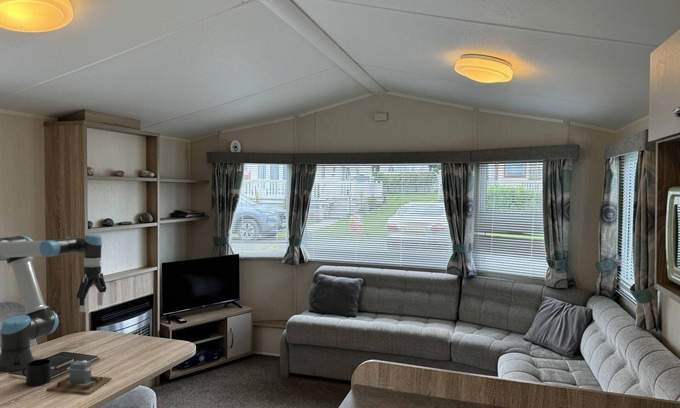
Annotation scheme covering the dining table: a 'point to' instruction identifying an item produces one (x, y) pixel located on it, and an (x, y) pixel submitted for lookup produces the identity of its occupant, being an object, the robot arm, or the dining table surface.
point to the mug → (38, 372)
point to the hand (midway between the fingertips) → (91, 308)
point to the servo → (80, 372)
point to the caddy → (79, 385)
